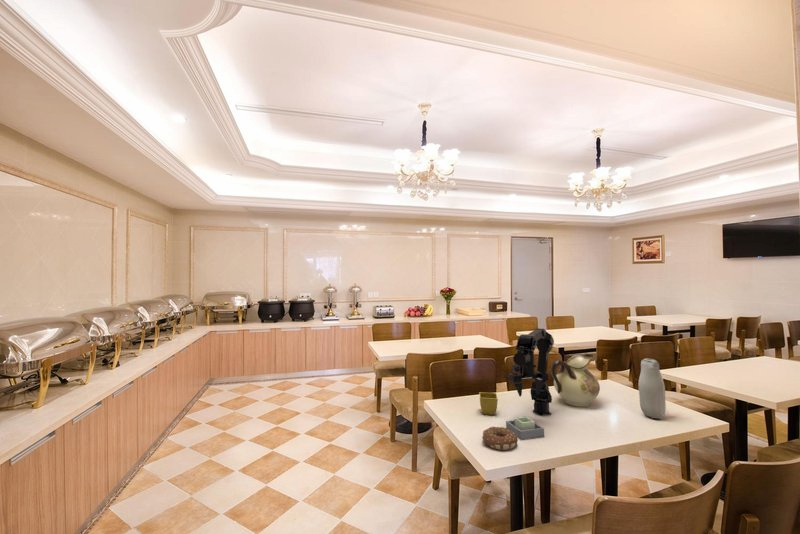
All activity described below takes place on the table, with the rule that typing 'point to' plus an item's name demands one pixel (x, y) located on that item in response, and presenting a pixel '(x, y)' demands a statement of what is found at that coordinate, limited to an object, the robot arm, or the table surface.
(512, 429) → the big crate
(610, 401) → the table surface
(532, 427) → the small crate
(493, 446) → the donut
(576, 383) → the pitcher
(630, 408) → the table surface
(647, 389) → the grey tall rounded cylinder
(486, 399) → the flower pot
